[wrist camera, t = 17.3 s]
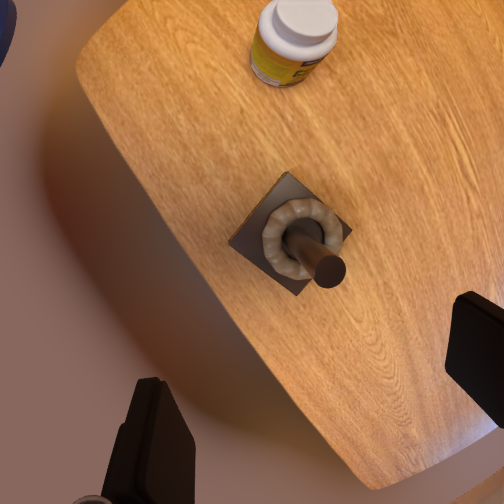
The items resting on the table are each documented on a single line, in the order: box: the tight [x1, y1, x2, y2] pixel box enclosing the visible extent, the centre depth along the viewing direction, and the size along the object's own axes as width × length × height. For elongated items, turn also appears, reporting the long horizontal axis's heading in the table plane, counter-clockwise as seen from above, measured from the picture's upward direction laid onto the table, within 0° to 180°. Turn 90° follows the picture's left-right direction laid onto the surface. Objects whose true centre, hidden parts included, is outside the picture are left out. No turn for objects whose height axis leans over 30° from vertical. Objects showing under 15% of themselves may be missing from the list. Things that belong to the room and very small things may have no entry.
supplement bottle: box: [250, 0, 338, 87], centre depth 19 cm, size 6×6×10 cm
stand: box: [228, 172, 352, 296], centre depth 23 cm, size 8×8×11 cm
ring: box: [262, 198, 343, 280], centre depth 26 cm, size 7×7×2 cm
